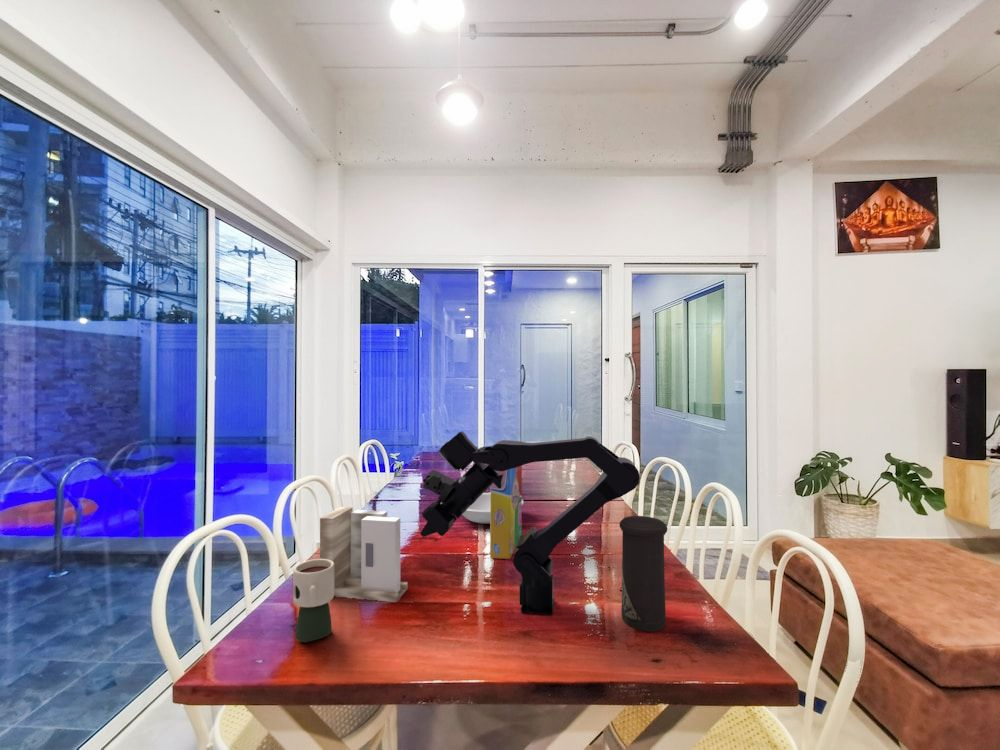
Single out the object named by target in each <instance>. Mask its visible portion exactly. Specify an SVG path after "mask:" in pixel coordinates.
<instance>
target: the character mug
mask: <svg viewBox="0 0 1000 750" xmlns="http://www.w3.org/2000/svg"><path fill="white" fill-rule="evenodd" d="M292 573H293V575H292V577H293V578H292V579H293V580H292V583H293V584H292V596H293V597H292V601H293V604H294V605H296V606H297V607H299V609H298V615H297V621H296V622H297V623H296V629H295V639H296V640H297V641H298V642H301V643H308V642H312V641H313V642H314V641H317V640H319V639H323V638H325V637H327V636H329V635H330V634H331V633H332V629H333V628H332V617H331V611H330V604H329V603H330V602H331V601H332V600H333V599H334V598H335V597H334V562H333V561H331V560H329V559H320V558H314V559H308V560H305V561H303V562H300V563H298V564H297V565H295V566H293V569H292Z"/></svg>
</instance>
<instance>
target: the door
mask: <svg viewBox="0 0 1000 750" xmlns="http://www.w3.org/2000/svg"><path fill="white" fill-rule="evenodd" d="M400 582H401V517H393V516H392V517H391V516H387V517H375V516H366V517H365V518H363V519H362V520H361V590H372V591H384V592H396V593H398V592H399V590H400Z"/></svg>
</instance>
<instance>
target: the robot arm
mask: <svg viewBox="0 0 1000 750" xmlns="http://www.w3.org/2000/svg"><path fill="white" fill-rule="evenodd" d="M438 454H439V455H440V456H441V457H442V458H443V459H444V460H445V461H446V462H447V463H448V464H449V465H450V466H451V468H452V469H454V470H455V471H460V470H461V471H462V472H464V471H465V470H466V469H467V468H468V467H469V466H470V465H471V464H472V463H474V464H473V465H472V466H470V468H469V469H467V471H466V472H465V473H464V474H463V475H462V476H461V477H458V478H457V479H456V480H454V479H452V478H451V477H449V476H448V475H446V474H443V473H442V472H440V471H437V470H435V469H432V470H430V471H428V472H427V474H426V476H425V478H423V479H422V482H423V483H422V485H421V487H422V488H423V489H425V490H429V491H430V492H433V493H435V494H436V495H438V497H437V500H436V501H435V502H432V503H430V505H428V506H427V507H426V508H425V509H424V510H423V511H422V512H421V517H423V519H424V520H425V521H426V523H425V525H424V526H423V528H422V529H421V531H420V533H419V534H420V535H421V537H423V538H425V537H427V536H431V535H433V534H435V533H437V534H438V535H439V536H441V537H444V536H445V534H446V533H447V532H448V531H450V529H451V528H452V527H453V526H454V523H455V522H456V521H457V520H458V519H459V518H460V517H461V516H463V515H462V514H463V513H464V512H465V511H466V510H467V509H468V508H469V507H470V506H471V505H472V504H473V503H474V502H475V501H476V500H477V499H478V498H479V497H480V496H481V495H482V494H483V493H486V491H487V490H488V489H489V488H491V485H492V484H493V483H494V484H495V485H496V486H497V487H498V488H499V489H500V488H501V487H502V486H503V485H504V480H503V478H504V474H503V473H502V474H500V473H497V472H496V471H505V470H509V469H512V468H516V467H519V466H524V465H527V464H531V463H537V462H538V463H539V462H549V461H550V462H551V461H552V462H553V461H561V460H562V461H563V460H573V459H583V458H584V459H589V460H590V461H591V462H592V463H593V464H594V465H595V466H596V467H597V468H599V470H601V471H602V472H601V474H600V476H599V477H598V479H596V482H595V483H594V484H593V486H592V487H590V488H589V489H588V490H587V491H585V492H584V493H583V494H582V495H581V496H579V498H578V499H576V501H574V502H573V503H572V504H570V505H569V506H568V507H567V508H566V509H565V510H564V511H563V512H561V513H560V514H558V516H557V517H555V518H554V519H553V520H552V521H551V522H550V523H549V524H547V526H544V527H543V528H541V529H538V530H537V528H536V527H535V525H532V526H531V528H530V529H529V530H528V531H527V532H526V533H525V534H523V535H521V536H520V538H519V541H518V543H517V545H516V547H515V550H514V552H513V555H512V563H513V566H514V568H515V570H516V571H517V572H519V573H520V576H521V578H522V579H521V580H520V582H519V605H520V606H521V608H520V612H521V613H523V614H524V613H527V614H535V615H537V614H538V615H550V616H552V615H553V613H554V609H555V608H554V607H555V598H554V574H552V571H553V564H554V560H553V559H552V558H551V557H550V555H551V554H552V552H553V551H554V549H555V548H556V547H557V546H558V545H560V543H562V541H564V540H565V539H566V538H567V537H568V536H569V535H571V534H572V533H573V532H575V530H576V529H577V528H579V527H580V526H581V525H582V524H583V523H585V521H587V520H588V519H589V518H590V517H592V516H593V515H594V514H596V512H597V511H599V509H601V508H602V507H603V506H604V505H606V504H607V503H610V502H611V501H613V500H614V501H615V500H616V499H619V498H622V497H623V496H625V495H626V494H628V493H630V492H631V491H633V490H635V489H636V488H637V487H638V486H639V484H640V472H639V469H638V468H637V466H636V465H635V463H634V462H633V461H632V460H631V459H629V458H626V457H620V456H618V455H617V454H616V453H614V452H613V451H612V450H610V449H609V448H608V447H606V446H605V445H603V444H602V443H601V442H599V440H598V439H597V438H596V437H593V436H585V437H583V438H572V439H561V440H550V441H540V442H525V441H519V440H509V439H508V440H507V439H502V440H499V441H497V442H495V443H494V444H493V445H490V446H482V447H479V448H478V447H477V446H476V444H474V443H473V442H472V440H470V439H469V438H468V436H467V435H466V433H465V432H464V431H462V430H461V431H459V432H457V434H455V435H454V436H453V437H452V438H451V439H450V440H449V441H446V442H444V444H443V445H442V446H441V447H440V448H439V450H438ZM495 470H496V471H495Z"/></svg>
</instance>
